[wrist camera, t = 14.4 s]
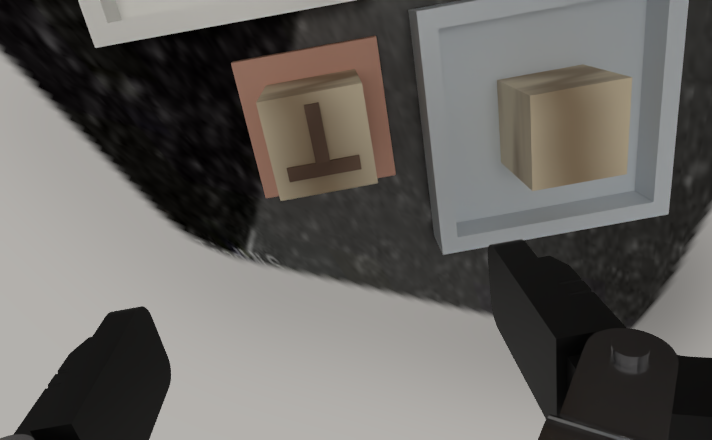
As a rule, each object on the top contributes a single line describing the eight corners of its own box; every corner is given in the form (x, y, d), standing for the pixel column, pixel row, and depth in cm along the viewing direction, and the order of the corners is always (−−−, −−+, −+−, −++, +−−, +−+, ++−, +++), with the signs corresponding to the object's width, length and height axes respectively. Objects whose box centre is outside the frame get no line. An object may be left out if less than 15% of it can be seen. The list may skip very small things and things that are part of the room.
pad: (374, 35, 28) (376, 36, 28) (394, 170, 32) (395, 174, 31) (233, 61, 28) (231, 63, 28) (266, 193, 32) (265, 198, 31)
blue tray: (660, -36, 28) (692, -39, 26) (643, 198, 34) (668, 214, 31) (408, 9, 28) (416, 11, 26) (434, 236, 34) (443, 254, 31)
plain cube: (582, 64, 29) (632, 77, 25) (581, 147, 31) (626, 174, 27) (496, 79, 29) (530, 95, 25) (501, 162, 31) (532, 191, 27)
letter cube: (354, 68, 28) (362, 83, 23) (368, 154, 30) (378, 184, 26) (265, 85, 28) (255, 103, 24) (286, 170, 30) (280, 202, 26)
